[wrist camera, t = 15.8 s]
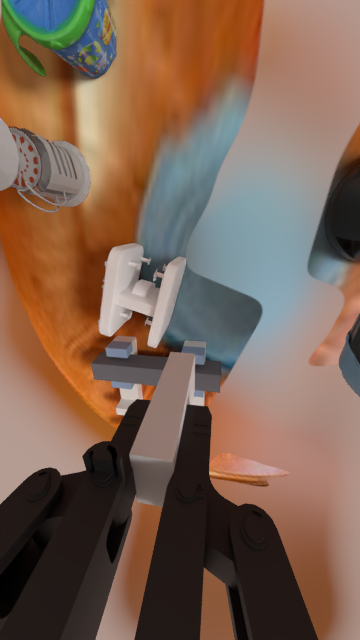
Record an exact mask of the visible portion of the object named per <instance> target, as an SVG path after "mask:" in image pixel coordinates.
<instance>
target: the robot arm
mask: <svg viewBox="0 0 360 640" xmlns="http://www.w3.org/2000/svg"><path fill="white" fill-rule="evenodd" d="M325 230H326V235H327V238H328V241H329V243H330V244H331V246H332V247H333V249H334V250H335V251H336V252H337V253H338V254H340V255H341V256H343V257H345V258H347V259H349V260H352V261H356V262H359V263H360V163H359V164H358V165H357V166H355V167H354V168H353V169H352V170H351V171H350V172H349V173H348V174H347V175H346V176H345V177H344V178H343V180H342V181H341V182H340V183H339V185H338V186H337V188H336V189H335V191H334V193H333V195H332V197H331V199H330V201H329V204H328V207H327V211H326V216H325ZM339 366H340V369H341V371H342V375H343V377H344V379H345V380H346V382H347V383H348V385H350V387H351V388H352V389H353V390H354V392H355V393H356V394H357V395H358V396H359V397H360V314H359V316H358V317H357V319H356V321H355V323H354V325H353V327H352V329H351V330H350V331H349V332H348V334H347V336H346V343H345V345H344V348H343V350H342V352H341V354H340V357H339ZM194 391H195V354H192V353H179V352H170V355H169V357H168V360H167V362H166V365H165V367H164V369H163V372H162V374H161V377H160V379H159V382H158V384H157V387H156V389H155V392H154V394H153V397H152V399H151V401H150V400H142V399H136V400H135V401H134V402H133V403H132V404H131V405H130V406H129V407H128V409H127V411H126V413H125V415H124V417H123V419H122V421H121V423H120V425H119V427H118V429H117V431H116V433H115V435H114V436H113V438H112V440H111V442H110V441H103V442H100V443H98V444H95V445H93V446H92V447H91V448H89V449H88V450H87V451H86V452H85V454H84V455H83V460H84V463H85V467H86V471H82V472H78V473H73V474H68V475H62V476H61V475H60V473H59V472H58V470H57V469H54V468H45V469H41V470H39V471H37V472H35V473H33V474H32V475H31V476H29V477H28V478H27V479H26V480H25V481H24V482H23V483H22V484H21V485H20V486H18V487H17V488H16V489H15V491H13V492H12V493H11V494H10V495H9V497H7V498H6V500H4V501H3V502H2V503H1V504H0V640H95V639H96V635H97V632H98V629H99V625H100V622H101V619H102V616H103V612H104V609H105V606H106V603H107V599H108V596H109V592H110V589H111V586H112V582H113V579H114V576H115V573H116V569H117V566H118V563H119V560H120V556H121V553H122V550H123V547H124V543H125V540H126V537H127V533H128V530H129V527H130V523H131V519H132V510H131V508H132V505H133V501H134V498H135V495H136V499H137V502H140V503H146V504H150V505H155V506H161V507H163V508H162V512H161V518H160V522H159V526H158V531H157V536H156V541H155V545H154V550H153V555H152V559H151V565H150V569H149V574H148V579H147V583H146V588H145V592H144V597H143V602H142V607H141V612H140V616H139V621H138V626H137V630H136V636H135V640H200V626H201V607H202V589H203V588H202V587H203V571H204V568H206V569H207V570H208V571H209V572H211V573H212V574H213V575H215V576H216V577H217V578H218V579H220V580H221V581H222V582H224V583H225V584H226V590H227V596H228V601H229V608H230V613H231V620H232V625H233V631H234V637H235V640H318V638H317V635H316V633H315V630H314V627H313V624H312V622H311V619H310V616H309V614H308V611H307V608H306V606H305V603H304V600H303V597H302V595H301V592H300V589H299V587H298V584H297V581H296V579H295V576H294V573H293V571H292V568H291V565H290V563H289V560H288V557H287V555H286V552H285V549H284V546H283V544H282V541H281V538H280V536H279V533H278V530H277V528H276V526H275V524H274V522H273V520H272V519H271V518H270V516H269V515H268V514H267V513H266V512H265V511H264V510H263V509H261V508H259V507H258V506H256V505H253V504H243V505H240V506H237V505H235V504H234V503H232V502H230V501H229V500H227V499H225V498H224V497H222V496H221V495H220V494H219V493H218V492H217V491H216V490H215V489H214V487H213V485H212V483H211V480H210V477H209V458H210V438H211V420H212V415H211V413H210V411H209V408H208V407H207V406H198V405H192V403H193V397H194Z"/></svg>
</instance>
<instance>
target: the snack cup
mask: <svg viewBox="0 0 360 640" xmlns="http://www.w3.org/2000/svg"><path fill="white" fill-rule="evenodd" d="M1 5H2V17H3V21H4V25H5V28H6V31H7V33H8V35H9V37H10V39H11V41H12V43H13V44H14V46H15V47H16V49H17V51H18V53H19V54H20V55H21V57H22V58H23V59H24V61H25V62H26V63H27V64H28V65H29V66H30V67H31V68H32V69H33V70H34V71H35V72H36V73H38V74H39V75H41V76H46V72H45V69H44V68H43V66H42V64H41V63H40V61H39V60H38V59H37V58H36V57H35V56H34V55H33V54H32V53H31V52H29V51H28V50H26V49H24V48H23V47H21V46H19V37H20V36H21V35H23V34H25V35H27V36H29V37H30V38H31V39H32V40H34V41H35V42H37V43H38V44H40V45H42V46H44V47H46V48H49V49H50V50H51V51H53V52H54V53H55V54H57V55H58V56H59V57H60V58H62V59H63V60H64V61H66V62H67V63H69V64H70V65H71V66H72V67H74V68H75V69H77V70H78V71H80V72H81V73H82V74H84V75H87V76H91V77H94V78H96V77H99V76H100V75H101V74H104V73H105V72H106V71H107V70H108V68H109V67H110V65H111V63H112V61H113V60H114V58H115V56H116V28H115V24H114V20H113V17H112V14H111V11H110V8H109V5H108V3H107V0H2V4H1Z"/></svg>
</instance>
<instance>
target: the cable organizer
mask: <svg viewBox="0 0 360 640" xmlns="http://www.w3.org/2000/svg"><path fill="white" fill-rule="evenodd" d="M143 253H144V250H143V246H142V245H139V244H135V243H131V244H126V245H121V246H116V247H113V248H112V250H111V251H110V253H109V256H108V260H107V261H105V265H104V266H106V268H105V269H106V272H105V276H104V277H103V278H104V280H102V281H104V285H102V288H103V293H102V295H103V296H102V298H101V299H102V301H101V302H102V304H101V308H100V309H101V311H100V313H101V314H100V319H99V320H98V323H99V325H98V326H99V327H98V329H99V332H100V333H101V334H103V335H106V336H109V337H111V336H112V335H113V334H114V333H115V332H116V331H117V330H118V329H119V328H120V327H121V326H122V325H123V324H124V323H125V322H126V321H127V320H129V319H130V318H131V315H132V313H133V312H132V311H136V312H139V313H142V314H145V315H148V316H151V317H153V320H152V321H149V320H148V319H149V318H148V317H147V319H146V321H145V325H146V324H148V325H151V328H150V332H149V336H148V342H147V345H148V346H150V347H153V348H156V347H157V346H158V344H159V342H160V340H161V338H162V337H163V335H164V333H165V331H166V329H167V327H168V325H169V323H170V320H171V317H172V313H173V310H174V306H175V302H176V299H177V295H178V292H179V288H180V285H181V281H182V278H183V274H184V271H185V267H186V258H183V257H180V256H178V257H177V258H175V259H174V260H173V261H171V262H170V263H169V264H168V265H167V267H166V265H165V264H164V267H163V270H165V272H164V274H162V273H159V272H157V270H156V272H155V273H154V277H153V282H154V280H155V281H156V276H157V277H160V278H162V282H161V287H160V288H157V287H155V283H152V282H149V281H146V280H143V279H141V280H139V276H140V270H141V265H142V261H143V262H146V263H148V264H149V265H150V261H151V259H150V258H149V259H146V258H143ZM147 266H148V265H147ZM163 270H162V272H163ZM144 327H145V326H144Z"/></svg>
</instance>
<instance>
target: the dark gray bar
mask: <svg viewBox="0 0 360 640" xmlns="http://www.w3.org/2000/svg"><path fill="white" fill-rule="evenodd" d="M167 360H168V357H158V356H146V355H134V354H130V355H129V357H128V358H119V357H108V356H107V355H106V352H101V353H100V355H99V356H98V357H97V358H96V359H95V360H94V361H93V362H92V363H91V366H92V370H93V375H94V379H96V380H105V381H114V382H124V383H133V384H143V385H152V386H157V384H158V382H159V379H160V377H161V374H162V372H163V369H164V367H165V365H166V362H167ZM220 380H221V362H219V361H206V360H205V362H204V365H201V364H195V390H199V391H209V392H218V393H220Z"/></svg>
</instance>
